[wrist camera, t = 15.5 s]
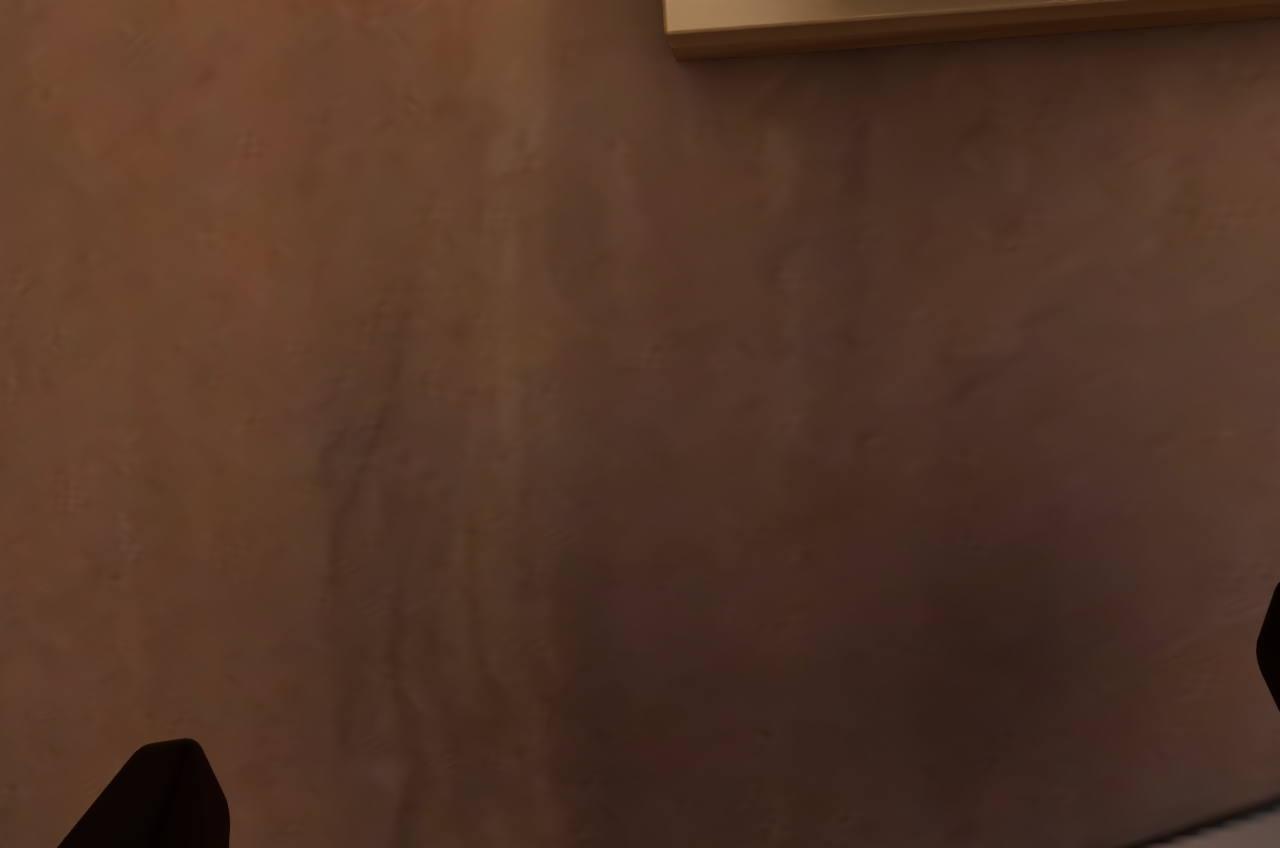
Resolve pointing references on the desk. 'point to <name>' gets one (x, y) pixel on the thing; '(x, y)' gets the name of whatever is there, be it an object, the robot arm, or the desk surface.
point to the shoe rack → (916, 21)
